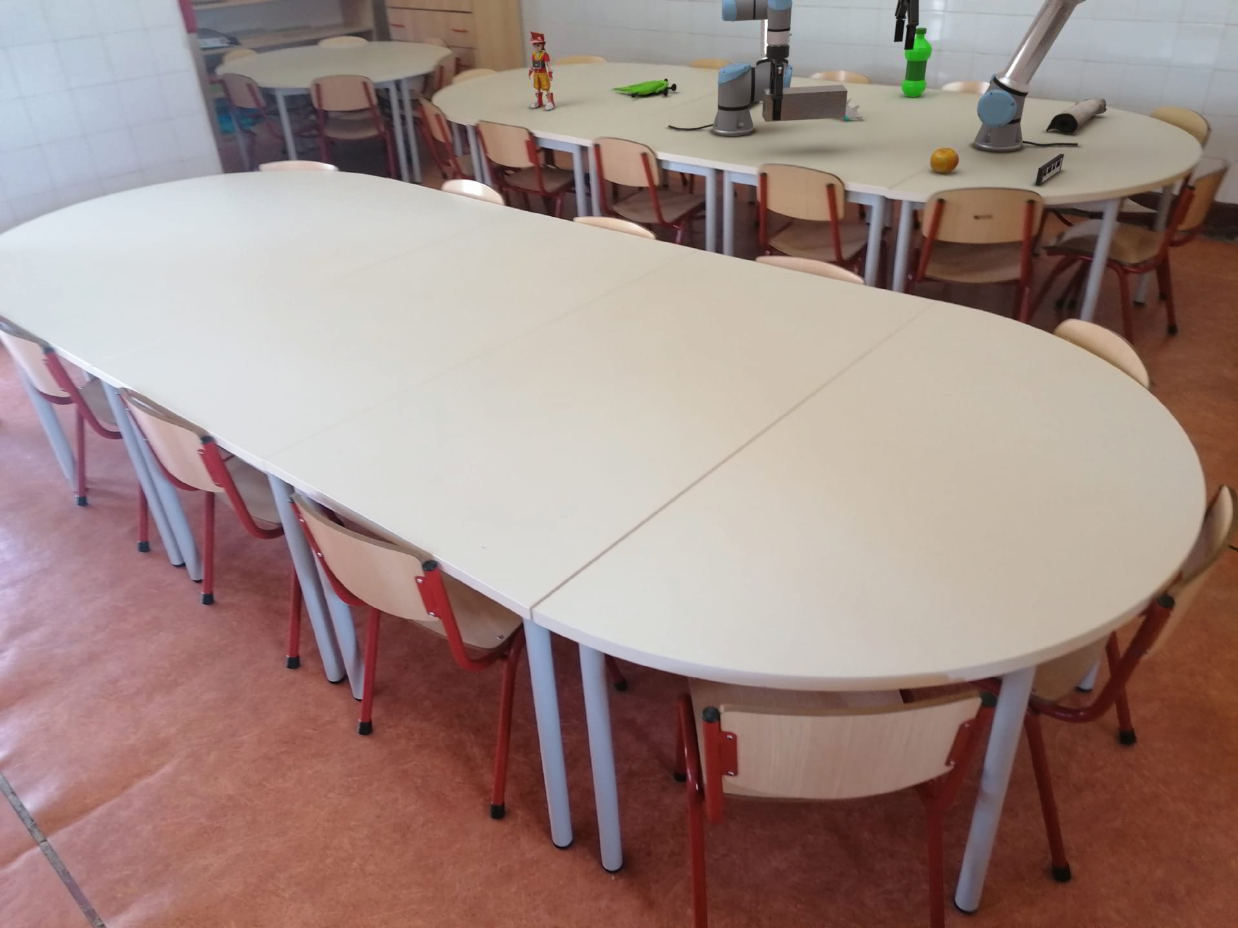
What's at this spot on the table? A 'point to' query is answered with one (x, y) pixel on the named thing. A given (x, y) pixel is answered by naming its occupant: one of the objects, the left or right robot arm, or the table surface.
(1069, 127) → the rolled mat
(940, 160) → the fruit
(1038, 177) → the midi keyboard
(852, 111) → the anatomical model
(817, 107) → the box
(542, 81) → the toy
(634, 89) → the toy
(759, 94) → the left robot arm
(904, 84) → the plastic bottle
